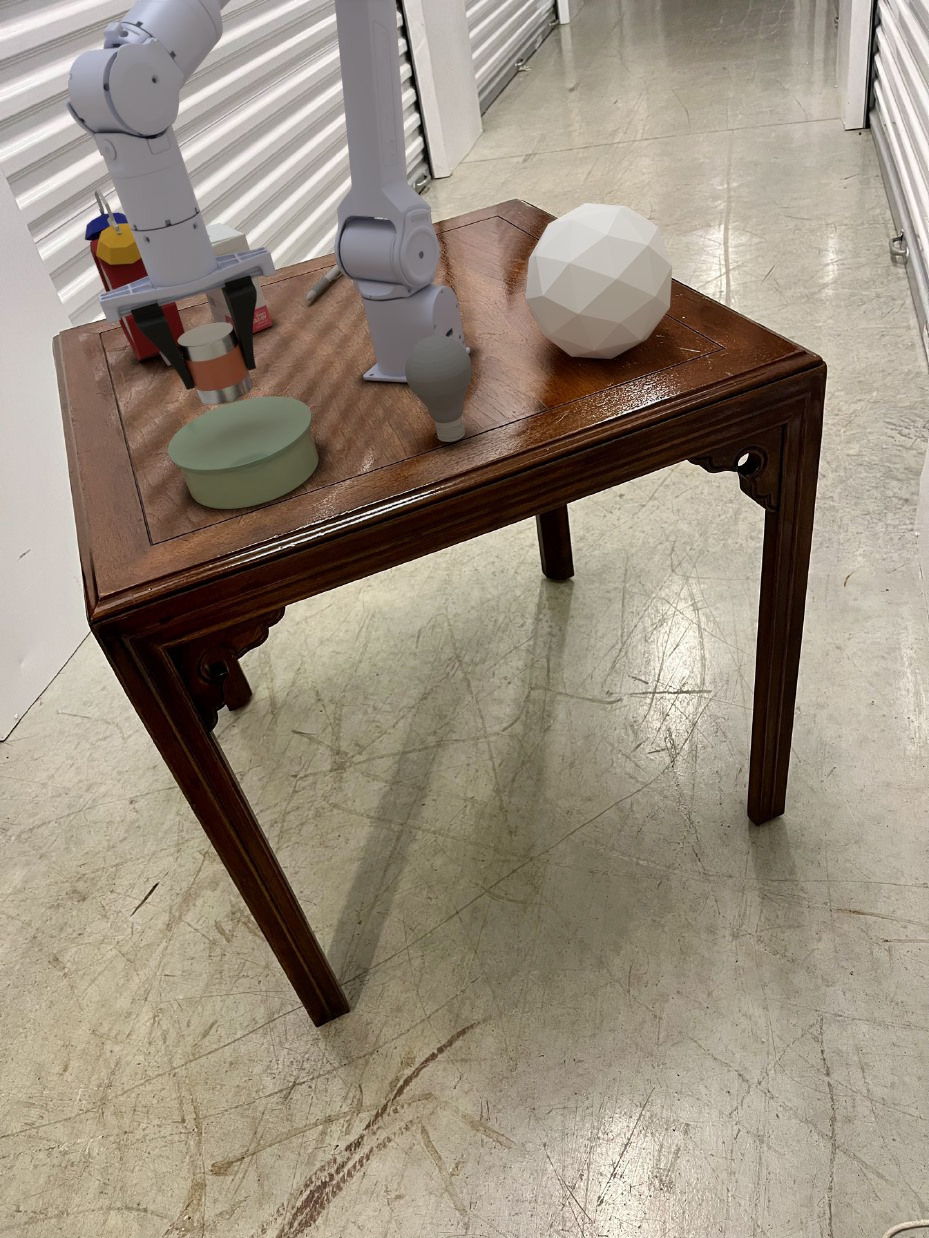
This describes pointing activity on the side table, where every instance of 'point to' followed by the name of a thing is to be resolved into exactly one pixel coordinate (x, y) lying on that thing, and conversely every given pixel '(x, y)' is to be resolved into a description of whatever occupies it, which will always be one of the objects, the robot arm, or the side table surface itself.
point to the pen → (324, 282)
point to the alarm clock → (125, 273)
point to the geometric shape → (599, 280)
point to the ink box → (222, 244)
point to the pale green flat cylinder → (246, 452)
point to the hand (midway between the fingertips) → (220, 375)
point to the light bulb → (441, 382)
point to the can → (215, 363)
